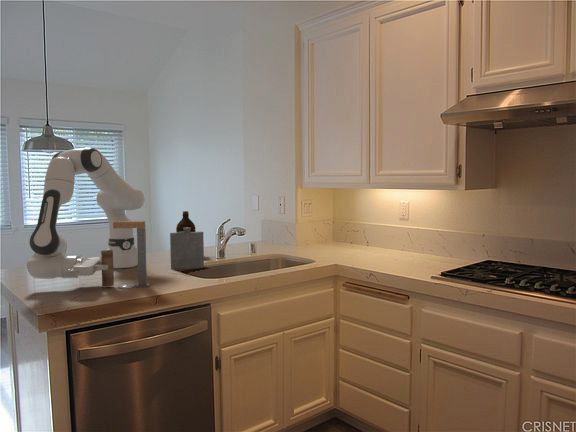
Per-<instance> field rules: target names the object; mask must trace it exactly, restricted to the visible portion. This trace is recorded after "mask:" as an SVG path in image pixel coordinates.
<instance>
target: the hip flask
mask: <svg viewBox="0 0 576 432" xmlns="http://www.w3.org/2000/svg"><path fill="white" fill-rule="evenodd" d="M190 229H191V228H189V227H186V228H183V230H184V232H177V233H176V232H170V233H169V239H170V240H169V244H170V247H169V248H170V249H169V250H170V270H190V269H191V270H193V269H203V268H204V267H205V262H204V261H205V259H204V258H205V257H204V256H205V255H204V253H205V252H204V251H205V250H204V247H205V246H204V244H205V242H204V231H195V232H190Z"/></svg>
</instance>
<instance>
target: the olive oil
mask: <svg viewBox="0 0 576 432" xmlns="http://www.w3.org/2000/svg"><path fill="white" fill-rule="evenodd" d="M186 227H189V228H191V229H190V232H196V225H195V223H194V222H193V221H192V220H191V219H190V217H189V210H188V211H186V210H182V218H181V219H180V220H179V222H177V224H176V228H175V233H177V232H184V230H183V228H186Z"/></svg>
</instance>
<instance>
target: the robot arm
mask: <svg viewBox="0 0 576 432" xmlns="http://www.w3.org/2000/svg"><path fill="white" fill-rule="evenodd" d="M82 174H87V176H88V178H90V180H91V181H92V183H94V185H95V187H96V188H97V189H99V191H98V192H97V194H96V197H95V198H96V203H97V205H98V206H99V207H100V208H101V209H102V210H103V211H104V213H105V215H106V218H107V222H108V227H109V238H108V242H107V243H108V245H107V248H106V249H105V250H113V269H125V268H134V267H138V252H137V247H136V246H135V241H136V240H135V237H134V228H113V222H116V221H132V219H130V218H129V217H128V216H127V213H126V212H125V211H134V210H139V209H141V208H142V207H144V203H145V200H146V199H145V198H146V197H145V195H144V193H143V191H142V190H140V189H139V188H136V187H135V186H133V185H131V184H130V183H128V182H127V181H126V180H124V179H123V178H122V177H121V176H120V175H119V174H118V172H117V171H116V170H115V169H114V167H113V166H112V165H111V163H110V162H109V160H108V159H107V158H106V157H105V155H104V154H103V153H102V152H101V151H100V150H99V149H97V148H93V147H80V148H73V149H68V150H67V149H66V150H62V151H59V152H57V153H55V154H54V155H53V156H52V158H51V159H50V161H49V164H48V167H47V170H46V173H45V179H44V185H43V195H42V200H41V204H40V208H39V214H38V221H37V223H36V226H35V229H34V230H33V232H32V234H31V235H30V237H29V246H30V248H31V250H32V251H33V252H34V253H33V255H31V257H30V258H29V259H28V260H27V263H26V268H27V271H28V274H29V275H30V276H31V277H32V278H34V279H37V280H38V279H39V280H40V279H41V280H52V279H57V278H59V279H60V278H61V279H77V278H79V277H80V276H85V277H87V276H88V277H89V276H93V275H94V274H95V273H96V272H99V271H100V272H101V271H102V270H107V269H108V268H109V265H102V264H101V256H100V257H99V256H83V255H80V254H79V255H66V251H67V247H68V246H67V241H66V239H65V238H64V237H63V236H62V235H61V234H59V233H58V232H57V223H58V215H59V211H60V208H61V206H63V205H65V204H67V203H70V201H71V200H72V197H73V195H74V191H75V183H76V180H75V179H76V175H82Z"/></svg>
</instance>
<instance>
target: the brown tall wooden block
mask: <svg viewBox="0 0 576 432" xmlns="http://www.w3.org/2000/svg"><path fill="white" fill-rule="evenodd" d="M100 258H101V264H102V265H109V268H108V269H107V270H101V285H102V287H112V286H114V285H115V281H114V280H115V279H114V268H113V250H106V249H105V250H104V249H103V250H101V251H100Z"/></svg>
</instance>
